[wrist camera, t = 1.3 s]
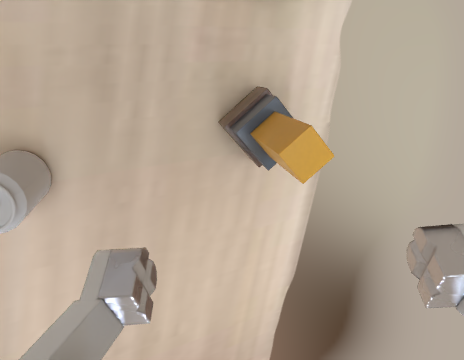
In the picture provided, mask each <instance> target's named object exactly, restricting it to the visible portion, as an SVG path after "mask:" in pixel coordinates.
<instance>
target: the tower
mask: <svg viewBox="0 0 464 360" xmlns="http://www.w3.org/2000/svg"><path fill="white" fill-rule="evenodd" d="M274 112H277V113H280V114H283V115H285V116H288V117H290V118H293V117H292V116H291V115H290V113H289V112H288V111H287V109H286V108H285V107H284V106H283V104H282V103H281V102H280V100H279V99H278V98H277V97H276V96H273V95H272V94H271V92H270V91H269V90H268V89H267V88H262V87H256V88H255V89H254V90H253V91H252V92H251V93H250V94H249V95H248V96H246V97H245V98H244V99H243V100H242V101H241V102H240V103H239V104H238V105H237V106H235V107H234V108H233V109H232V110H231V111H230V112H229V113H228V114H227V115H226V116H224V117H223V118H222V119H221V120H220V121H219V123H220V125H221V126H222V127H223V128H224V129H225V130H226V131H227V133H228V134H229V135H230V136H231V137H232V138H233V139H234V140H235V142H236V143H237V144H238V145H239V146H240V147H241V148H242V150H243V151H244V152H245V153H246V154H247V155H248V156H249V157H250V159H251V160H252V161H253V162H254V163H255V164H256V165H257V166H258V167H261V166H262V165H263V166H264V167H265V168H266V169H267V170H269V169H271V168H272V167H273V166H274V165H275V164H276V163H277V162H275V161H274V160H273V159H272V158H271V157H269V155H268V154H267V153H266V152H265V151H264V150H263V148H262V147H261V146H260V145H259V144H258V143H257V141H256V140H255V139H254V138H253V137H252V135H251V134H250V133H251V132H253V131H254V130H255V129H256V128H257V127H258V126H259V125H260V124H261V123H263V122H264V121H265V120H266V119H267V118H268V117H269V116H270V115H271V114H273V113H274ZM293 119H294V118H293Z"/></svg>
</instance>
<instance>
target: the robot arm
mask: <svg viewBox="0 0 464 360" xmlns="http://www.w3.org/2000/svg"><path fill="white" fill-rule="evenodd" d="M413 236H414V239H415V240H413V241H412V242H410V243H409V245H408V248H407V261H408V265H409V268H410V270H411V273H412V274H413V275H414V276H416V277H417V278H418V279H419V280H420V281H419V283H418V286H417V288H418V290H419V293H420V295H421V298H422V300H423V302H424V305H425V307H426V308H439V307H440V308H441V307H457V308H456V309H457V310H458V311H459V312H460V313H461V314H462V315H463V316H464V224H456V225H452V224H451V225H439V226H427V227H418V228H416V229H415V230H414V232H413ZM148 257H149V252H148V250H147V249H146V248H130V249H111V250H98V251H97V252H96V253H95V255H94V256H93V259H92V262H91V265H90V268H89V272H88V275H87V278H86V281H85V284H84V288H83V291H82V294H81V297H80V300H77V301H74V302H73V303H72V304H71V305H70V306H69V307H68V308H67V310H66V311H65V312H64V313H63V314H62V315H61V316H60V317H59V318H58V319H57V320H56V321H55V322H54V323H53V324H52V325H51V326H50V327H49V328H48V329H47V331H46V332H45V333H44V334H43V335H42V336H41V337H40V338H39V339H38V340H37V341H36V342H35V343H34V344H33V345H32V346H31V347H30V348H29V349H28V351H27V352H26V353H25V354H24V355H23V356H22V357H21V358H20V359H19V360H102V358H103V357H104V355H105V354H106V352H107V351H108V350H109V348H110V347H111V345H112V344H113V342H114V341H115V339H116V338H117V337H118V335H119V334H120V332H121V331H122V329H123V328H124V326H123V325H135V324H147V323H150V321H151V315H152V308H153V301H152V299H151V298H150V295H151V294H152V293H153V292H154V291H155V289H156V282H157V271H156V267H155V264H154V262H153V261H152V260H150V259H148Z"/></svg>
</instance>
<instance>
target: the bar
mask: <svg viewBox="0 0 464 360" xmlns="http://www.w3.org/2000/svg"><path fill="white" fill-rule="evenodd" d="M250 134H251V135H252V137H253V138H254V139H255V140H256V141H257V143H258V144H259V145H260V146H261V147H262V148H263V150H264V151H265V152H266V153H267V154H268V155H269V157H271V158H272V159H273V160H274V161H275V162H277V163H278V164H279V165H280V166H282V167H283V168H284V169H285V170H287V171H288V172H289V173H290V174H291V175H293V176H294V177H295V178H296V179H298V180H299V181H300V182H301V183H303V184H304V183H305V182H306V181H307V180H308V179H309V178H310V177H312V176H313V175H314V174H315V173H316V172H317V171H318V170H319V169H321V168H322V167H323V166H324V165H325V164H326V163H327V162H329V161H330V160H331V159H332V158H333V157H334V155H333V153H332V152H331V151H330V149H329V148H328V147H327V145H326V144H325V143H324V141H323V140H322V139H321V137H320V136H319V135H318V134H317V132H316V131H315V130H314V128H313V127H312V126H311V125H309V124H306V123H304V122H301V121H298V120H296V119H293V118H290V117H288V116H285V115H283V114H280V113H277V112H274V113H273V114H271V115H270V116H269V117H268V118H267V119H266V120H265V121H264V122H263V123H261V124H260V125H259V126H258V127H257V128H256V129H255V130H254V131H253V132H251V133H250Z"/></svg>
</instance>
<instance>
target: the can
mask: <svg viewBox="0 0 464 360" xmlns="http://www.w3.org/2000/svg"><path fill="white" fill-rule="evenodd" d="M50 186H51V174H50V171H49V168H48V167H47V165H46V164H45V163H44V161H43V160H41V159H40V158H39V157H37V156H36V155H34V154H32V153H29V152H27V151H19V150H14V151H8V152H5V153H3V154H1V155H0V234H1V233H6V232H8V231H10V230H12V229H14V228H16V227H17V226H18V225H19V224H20V223H21V222H22V220H23V219H24V218H25V217H26V216H27V215H28V214H29V213H30V212H31V210H32V209H33V208H34V207H35V206H36V205H37V204H38V203H39V202H40V200H41V199H42V198H43V197H44V196H45V195H46V194H47V193H48V191H49V188H50Z"/></svg>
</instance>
